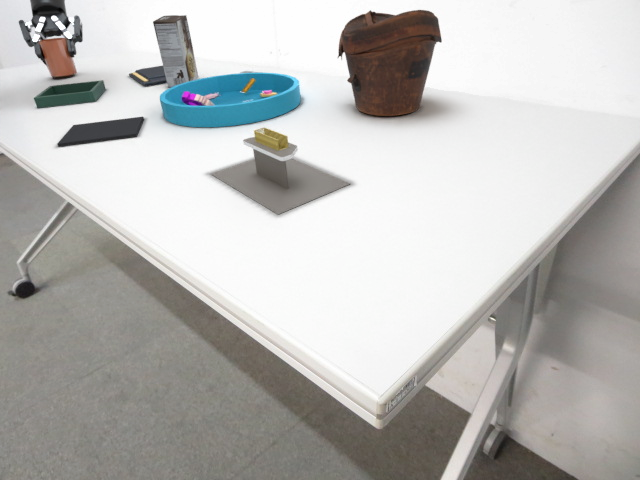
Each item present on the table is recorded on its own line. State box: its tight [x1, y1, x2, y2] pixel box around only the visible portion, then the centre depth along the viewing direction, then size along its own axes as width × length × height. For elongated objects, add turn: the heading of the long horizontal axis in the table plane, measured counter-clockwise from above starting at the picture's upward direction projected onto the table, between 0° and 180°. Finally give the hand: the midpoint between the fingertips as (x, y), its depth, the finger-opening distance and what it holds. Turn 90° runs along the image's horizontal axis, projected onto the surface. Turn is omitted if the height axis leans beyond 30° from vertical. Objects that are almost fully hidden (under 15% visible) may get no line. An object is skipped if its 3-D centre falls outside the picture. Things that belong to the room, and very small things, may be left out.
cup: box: [38, 37, 78, 77], centre depth 110 cm, size 6×6×8 cm
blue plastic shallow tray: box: [159, 72, 301, 128], centre depth 97 cm, size 30×30×6 cm
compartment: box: [33, 79, 107, 109], centre depth 114 cm, size 14×14×2 cm
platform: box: [210, 126, 351, 215], centre depth 61 cm, size 12×18×7 cm, turn 39°
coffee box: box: [152, 14, 199, 88], centre depth 117 cm, size 9×6×16 cm
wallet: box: [128, 65, 167, 87], centre depth 131 cm, size 20×2×15 cm
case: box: [337, 9, 443, 117], centre depth 85 cm, size 18×20×18 cm
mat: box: [56, 116, 145, 148], centre depth 88 cm, size 14×12×1 cm
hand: (56, 56), depth 108 cm, fingers closed on cup, 6 cm apart
